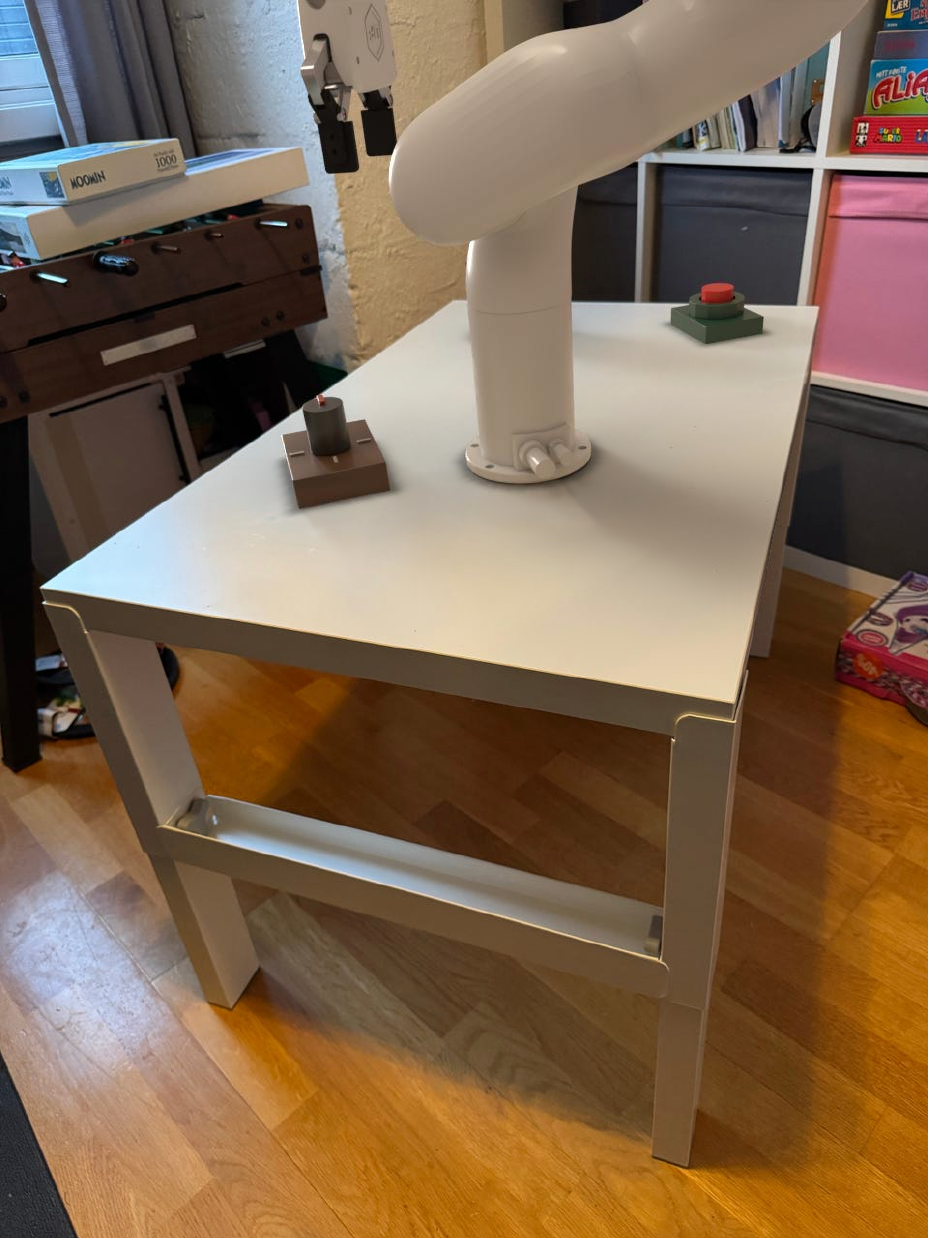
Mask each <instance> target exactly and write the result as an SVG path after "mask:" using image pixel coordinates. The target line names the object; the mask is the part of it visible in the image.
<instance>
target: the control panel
mask: <svg viewBox="0 0 928 1238" xmlns="http://www.w3.org/2000/svg"><path fill="white" fill-rule="evenodd" d="M347 427H348V432H349V438H350V444H351V445H350V447H349V448H348V449H347V450H345V451H343V452H341V453H338V454H334V455H325V456H323V455H316V454H314V453H312V452H311V448H310V444H309V439H308V434H307V429H304V430H300V431H295V432H290V433H285V434H281V435H280V437H281V441H282V445H283V450H284V454H285V458H286V463H287V467H288V471H289V475H290V479H291V484H292V488H293V491H294V495H295V496H294V497H295V500H296V503H297V508H298V509H299V510H300V509H304V508H310V507H315V506H319V505H324V504H329V503H333V502H339V501H343V500H348V499H352V498H357V497H362V496H368V495H373V494H377V493H382V492H386V491H387V492H388V491H391V487H390V481H389V475H388V474H389V473H388V467H387V462H386V460H385V458H384V456H383V453H382V452H381V449H380V447H379V445H378V444H377V441H376V440H375V439H376V438H375V436H374V435H373V433H372V430H371V429H370V426H369V425H368V423H367V420H366V419H365V418H363V419H358V420H353V421H348V422H347Z"/></svg>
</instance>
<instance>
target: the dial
mask: <svg viewBox="0 0 928 1238" xmlns="http://www.w3.org/2000/svg"><path fill="white" fill-rule="evenodd" d="M301 410H302V414H303V419H304V424H305V428H306V429H305V430H307V434H308V439H309V444H310V448H311V452H312V453H314V454H316V455H323V456H325V455H334V454H338V453H341V452H343V451H345V450H347V449H348V448H349V447H350V445H351V444H350V438H349V432H348V427H347V416H346V411H345V405H344V401H343V399H341V398H339V397H335V396H324V395H323V394H317V395H316V398H313V399H311V400H308V401H306V402H305V403H303V405H302V406H301Z"/></svg>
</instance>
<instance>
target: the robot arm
mask: <svg viewBox="0 0 928 1238" xmlns="http://www.w3.org/2000/svg"><path fill="white" fill-rule="evenodd" d="M869 1H870V0H647V1H646V2H644V3H643V4H641V5H639V6H638V7H637V8H635V9H633V10H632V11H630V12H628V13H626V14H624V15H622V16H620V17H618V18H616V19H613V20H611V21H607V22H603V23H598V24H597V23H596V24H592V25H587V26H582V27H576V28H569V29H563V30H556V31H552V32H548V33H543V34H541V35H536V36H534V37H532V38H530V39H527V40H525V41H523V42H520V43H519V44H517V45H515V46H513V47H511V48H510V49H508V50H506V51H505V52H503V53H501V54H500V55H499V56H497V57H496V58H494V59H493V60H491V61H490V62H489V63H488V64H486V65H484V67H482V68H480V69H479V70H478V71H477V72H475V73H474V74H472V76H469V78H467V79H465V81H463V82H462V83H460V84H459V85H458V86H456V87H455V88H453V89H452V90H451V91H449V92H448V93H447V94H445V95H444V96H443V97H441V98H440V99H438V100H437V101H436V102H434V103H433V104H431V105H430V106H429V107H428V108H426V109H425V110H424V111H422V112H421V113H420V114H419V115H418V116H416V117H415V118H414V119H413V120H412V121H411V122H410V123H409V124H408V125H407V126H406V127H405V129H404V130H403V132H402V133H401V135H400V136H399V138H397V137H398V136H397V130H396V122H395V115H394V114H395V112H394V96H393V93H392V85H393V84H394V83H395V81H396V79H397V77H398V76H397V75H398V71H397V64H396V57H395V49H394V44H393V37H392V29H391V24H390V19H389V18H390V17H389V12H388V6H387V1H386V0H296V6H297V14H298V22H299V23H298V24H299V31H300V38H301V44H302V52H303V58H304V60H303V63H302V64H301V66H300V76H301V79H302V81H303V83H304V87H305V89H306V92H307V100H308V103H309V105H310V107H311V108H312V110H313V111H312V112H313V113H312V114H313V115H312V116H313V121H314V123H315V125H317V130H318V137H319V143H320V149H321V155H322V160H323V168H324V171H325V173H326V174H328V175H337V174H351V173H353V174H354V173H357V172H358V171H360V163H359V162H360V161H359V156H358V147H357V143H356V141H357V140H356V135H355V127H354V121H353V120H348V119H349V118H348V117H349V112H350V111H349V110H350V104H351V95H352V90H354V91H355V92H356V93H357V95H358V98H359V99H360V101H361V104H362V107H364V109H361V110H360V117H361V124H362V132H363V138H364V145H365V152H366V155H367V156H368V157H370V158H371V157H385V156H391V159H390V162H389V170H388V190H389V195H390V199H391V203H392V205H393V209H394V211H395V212H396V214H397V216H398V218H399V220H400V221H401V222H402V224H403V226H405V227H406V228H407V229H408V231H410V232H411V233H412V234H413V235H415V236H416V237H417V238H419V239H420V240H423V241H424V242H427V243H429V244H432V245H435V246H440V247H458V246H462V245H466V244H468V243H469V244H468V248H467V255H466V261H467V262H466V261H465V263H466V266H465V293H466V307H467V308H466V309H467V318H468V330H469V341H470V352H471V362H472V374H473V382H474V383H473V385H474V395H475V406H476V407H475V408H476V415H477V416H476V417H477V428H478V436H476V437H474V439H473V440H471V441H470V442H469V444H468V445H467V446H466V448H465V452H464V454H465V463H466V465H467V468H468V469H469V470H470V471H471V472H472V473H474V475H475V474H476V475H477V476H479V477H481V478H484V479H486V480H490V481H494V482H497V483H506V484H535V483H542V482H549V481H552V480H556V479H560V478H563V477H565V476H568V475H571V474H572V473H574V472H577V471H578V470H580V469H581V468H582V467H584V466H585V465H586V464H587V463H588V462H589V460H590V458H591V456H592V443H591V440H590V438H589V436H588V435H586V434H585V433H584V432H583V431H581V430H579V429H577V428H576V425H575V423H576V422H575V421H576V420H575V419H576V418H575V417H576V416H575V386H574V385H575V383H574V345H573V344H574V343H573V341H574V339H573V306H572V305H573V304H572V297H573V286H572V285H573V283H572V279H573V278H572V249H573V247H572V243H573V229H574V227H573V226H574V219H575V218H574V217H575V211H576V203H577V196H578V188H579V186H580V185H582V184H586V183H588V182H590V181H593V180H596V179H599V178H603V177H604V176H605V177H606V176H608V175H610V174H612V173H615V172H617V171H619V170H622V169H624V168H626V167H628V166H630V165H632V164H633V163H635V162H636V161H638V160H639V159H641V158H642V157H644V156H645V155H646V154H649V152H650V153H651V151H653V150H654V149H656V148H658V147H659V146H661V145H663V144H664V143H666V142H668V141H669V140H671V139H673V138H674V137H676V136H678V135H680V134H682V133H684V132H685V131H688V130H689V129H691V128H693V127H695V126H697V125H698V124H700V123H702V122H704V121H706V120H708V119H710V118H711V117H713V116H716V115H717V114H718V113H720V112H722V111H724V110H725V109H726V108H728V107H729V106H731V105H733V104H735V103H736V102H738V101H740V100H741V99H743V98H745V97H747V96H749V95H751V94H752V93H754V92H756V91H758V90H759V89H761V88H763V87H764V86H766V85H769V84H770V83H771V82H773V81H775V80H776V79H778V78H780V77H781V76H783V75H785V74H787V73H788V72H790V71H791V70H793V69H794V68H796V67H797V66H799V65H801V64H802V63H803V62H805V61H806V60H807V59H808V58H810V57H812V56H813V55H815V53H817V52H819V50H821V49H822V48H823V47H824V46H826V45H827V44H828V43H829V42H831V41H832V39H834V38H835V37H836V36H837V35H838V34H839V33H840V32H842V30H843V29H845V27H847V25H849V23H851V21H853V19H854V18H855V17H856V16H857V15H858V14H859V13H860V12H861V10H863V8H864V7H865V6H866V5H867V3H868V2H869ZM336 99H337V101H336Z"/></svg>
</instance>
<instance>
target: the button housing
mask: <svg viewBox="0 0 928 1238" xmlns="http://www.w3.org/2000/svg"><path fill="white" fill-rule="evenodd" d="M745 300H746V296H745V294H742V293H740V292H738V291H734V292H733V300H732V301H730V302H725V303H706V302H702V301H701V292H697V293H695V294H693V295H691V296H690V297H689V300H688V304H686V305H679V306H675V307H671V308H670V325H671V326H673V327H674V328H677V329H678V330H680V331H682V332H683V333H685V334H686V335H688V336H690V337H692V338H694V339H696V340H697V341H700V342H701V343H703V345H708V344H714V343H719V342H725V341H729V340H735V339H741V338H747V337H751V336H756V335H760V334H761V335H763V329H764V319H765V317H764V316H763V315H762V314H759V313H757V312H755V311H753V310H751V309H748V308H746V307H745V302H746V301H745Z"/></svg>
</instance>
